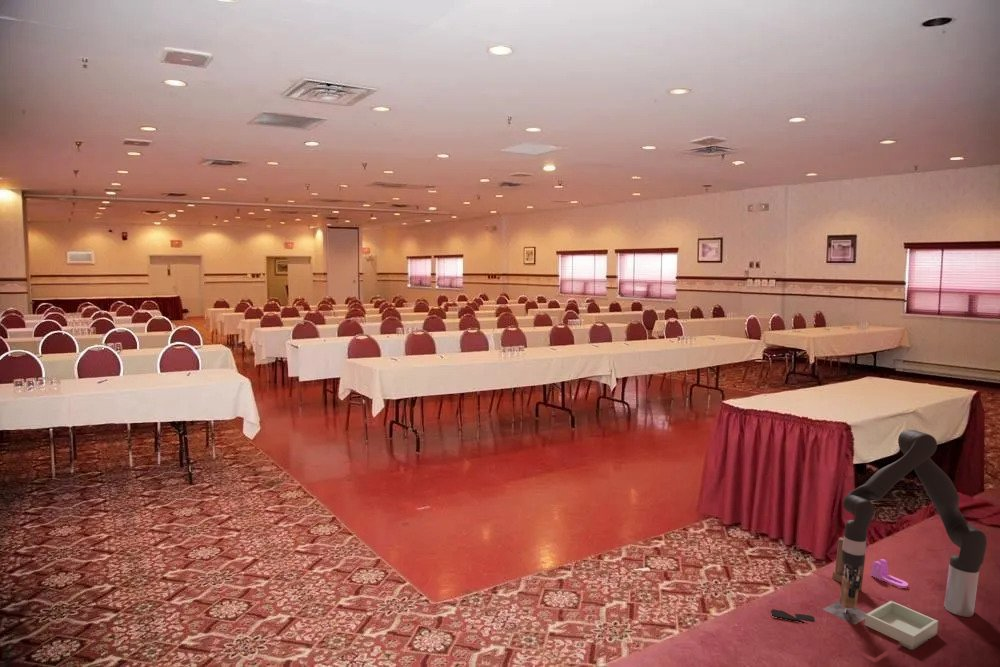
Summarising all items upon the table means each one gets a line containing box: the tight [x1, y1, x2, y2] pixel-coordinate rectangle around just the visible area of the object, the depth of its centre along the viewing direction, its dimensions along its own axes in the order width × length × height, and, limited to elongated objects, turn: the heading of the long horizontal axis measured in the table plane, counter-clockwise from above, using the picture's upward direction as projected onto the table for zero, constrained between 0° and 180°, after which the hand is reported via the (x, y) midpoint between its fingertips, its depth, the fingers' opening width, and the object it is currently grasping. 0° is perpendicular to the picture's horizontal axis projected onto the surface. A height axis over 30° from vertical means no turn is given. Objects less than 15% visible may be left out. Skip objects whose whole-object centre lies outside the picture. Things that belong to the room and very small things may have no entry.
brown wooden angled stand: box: [831, 536, 865, 592], centre depth 271 cm, size 4×11×18 cm, turn 26°
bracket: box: [870, 558, 909, 589], centre depth 276 cm, size 13×6×7 cm, turn 33°
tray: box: [864, 600, 939, 651], centre depth 240 cm, size 18×16×5 cm
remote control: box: [770, 608, 816, 625], centre depth 246 cm, size 5×2×15 cm
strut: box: [839, 576, 860, 609], centre depth 249 cm, size 4×4×10 cm
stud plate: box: [822, 600, 868, 625], centre depth 250 cm, size 12×12×5 cm
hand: (849, 593), depth 249 cm, fingers closed on strut, 4 cm apart
